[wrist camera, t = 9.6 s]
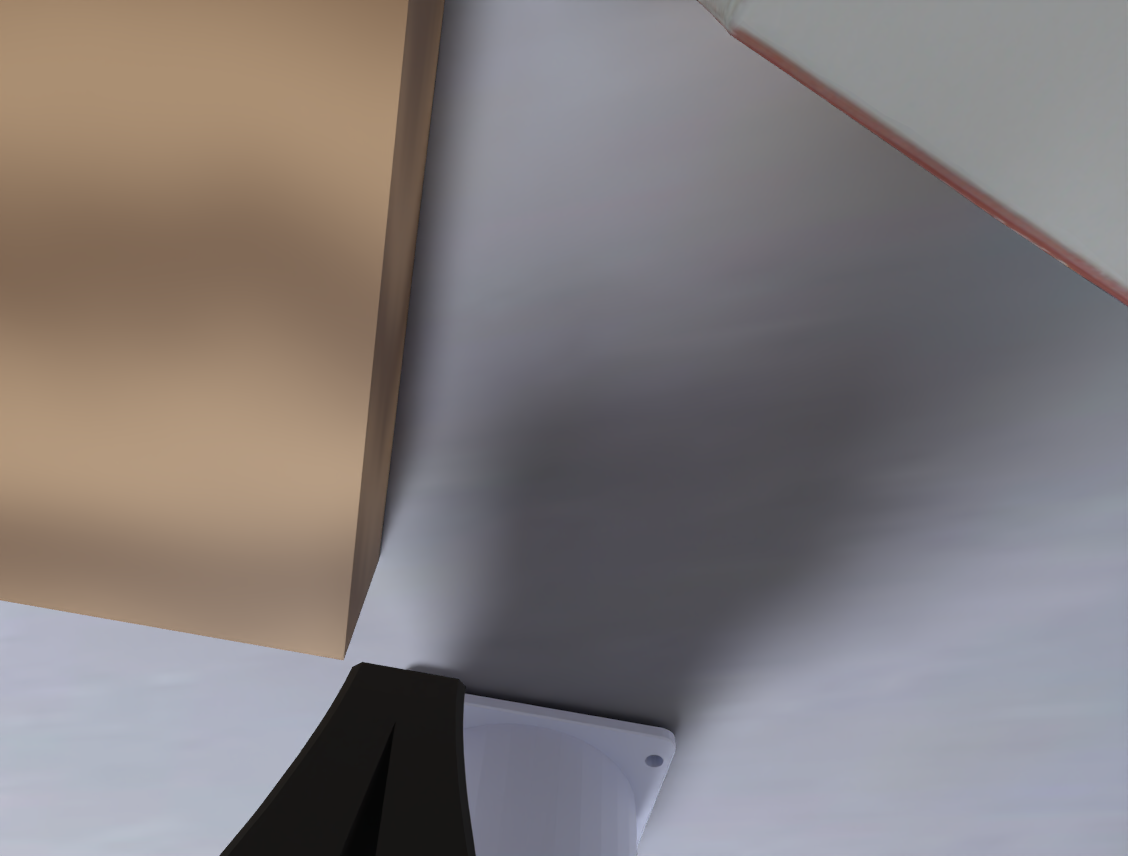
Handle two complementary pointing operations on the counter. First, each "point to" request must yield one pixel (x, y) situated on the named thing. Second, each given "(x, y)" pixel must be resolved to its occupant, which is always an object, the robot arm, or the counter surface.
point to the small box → (979, 103)
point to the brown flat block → (206, 305)
